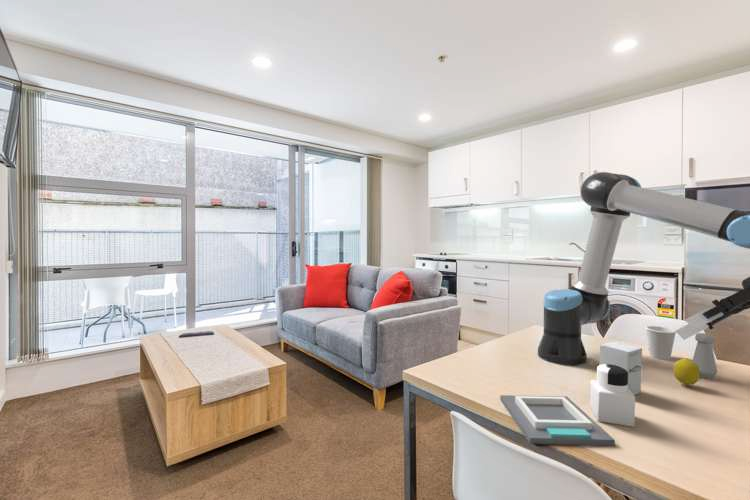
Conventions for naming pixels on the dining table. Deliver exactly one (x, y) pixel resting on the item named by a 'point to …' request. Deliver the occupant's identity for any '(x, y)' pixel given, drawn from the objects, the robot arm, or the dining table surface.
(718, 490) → the dining table surface
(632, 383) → the supplement box
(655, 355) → the dixie cup
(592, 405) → the medicine bottle
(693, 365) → the lemon
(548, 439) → the dock
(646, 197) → the robot arm
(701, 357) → the salt shaker
